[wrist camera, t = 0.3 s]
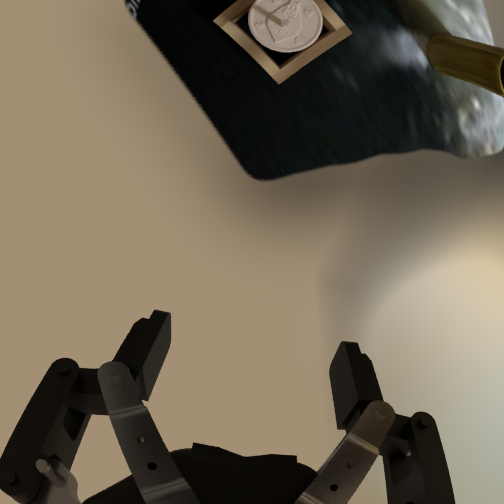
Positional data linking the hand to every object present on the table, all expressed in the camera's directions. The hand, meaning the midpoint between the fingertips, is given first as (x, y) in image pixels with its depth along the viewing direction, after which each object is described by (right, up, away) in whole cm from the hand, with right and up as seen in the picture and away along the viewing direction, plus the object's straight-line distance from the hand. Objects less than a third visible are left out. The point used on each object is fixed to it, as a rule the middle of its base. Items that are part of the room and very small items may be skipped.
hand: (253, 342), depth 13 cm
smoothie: (+3, +30, +13) cm, 33 cm away
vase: (+25, +29, +12) cm, 40 cm away
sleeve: (+3, +30, +13) cm, 33 cm away
